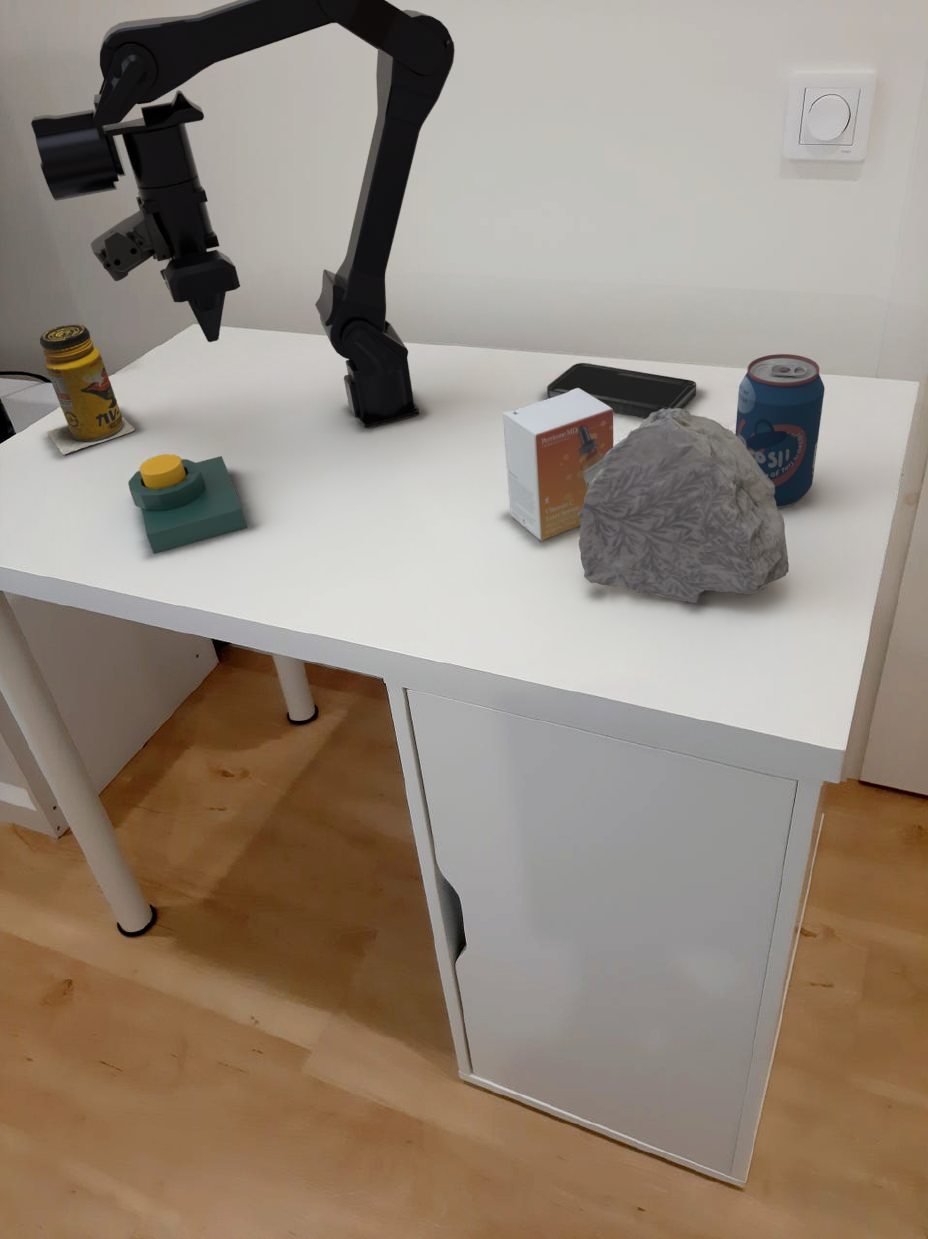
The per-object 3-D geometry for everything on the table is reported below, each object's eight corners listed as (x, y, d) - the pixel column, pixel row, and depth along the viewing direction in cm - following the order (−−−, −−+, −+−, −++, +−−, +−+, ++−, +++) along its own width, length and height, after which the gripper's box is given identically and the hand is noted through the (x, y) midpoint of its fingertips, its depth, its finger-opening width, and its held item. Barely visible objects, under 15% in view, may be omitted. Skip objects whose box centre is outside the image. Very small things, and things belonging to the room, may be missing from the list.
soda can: (725, 508, 87) (734, 383, 80) (736, 470, 92) (745, 349, 85) (807, 516, 85) (824, 388, 77) (813, 476, 90) (830, 352, 82)
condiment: (135, 431, 113) (101, 331, 106) (63, 456, 110) (23, 355, 102) (116, 411, 118) (83, 314, 111) (47, 434, 115) (7, 336, 107)
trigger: (183, 465, 97) (178, 450, 96) (188, 483, 94) (183, 467, 93) (143, 476, 96) (137, 460, 95) (147, 494, 93) (141, 478, 92)
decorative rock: (571, 590, 80) (563, 424, 71) (594, 546, 84) (590, 385, 75) (777, 622, 74) (798, 445, 65) (790, 572, 79) (811, 401, 69)
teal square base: (227, 474, 102) (217, 440, 100) (247, 528, 93) (237, 492, 91) (136, 498, 100) (124, 463, 98) (148, 555, 91) (135, 519, 89)
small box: (540, 543, 86) (533, 435, 79) (509, 516, 90) (499, 411, 83) (616, 514, 88) (615, 407, 82) (582, 489, 92) (578, 385, 86)
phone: (669, 412, 100) (543, 389, 107) (668, 422, 101) (543, 398, 108) (700, 381, 105) (578, 361, 112) (699, 391, 106) (578, 370, 113)
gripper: (73, 178, 96) (125, 330, 106) (87, 221, 82) (145, 393, 91) (185, 155, 99) (225, 306, 108) (217, 193, 84) (260, 363, 94)
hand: (212, 340), depth 100 cm, fingers closed
